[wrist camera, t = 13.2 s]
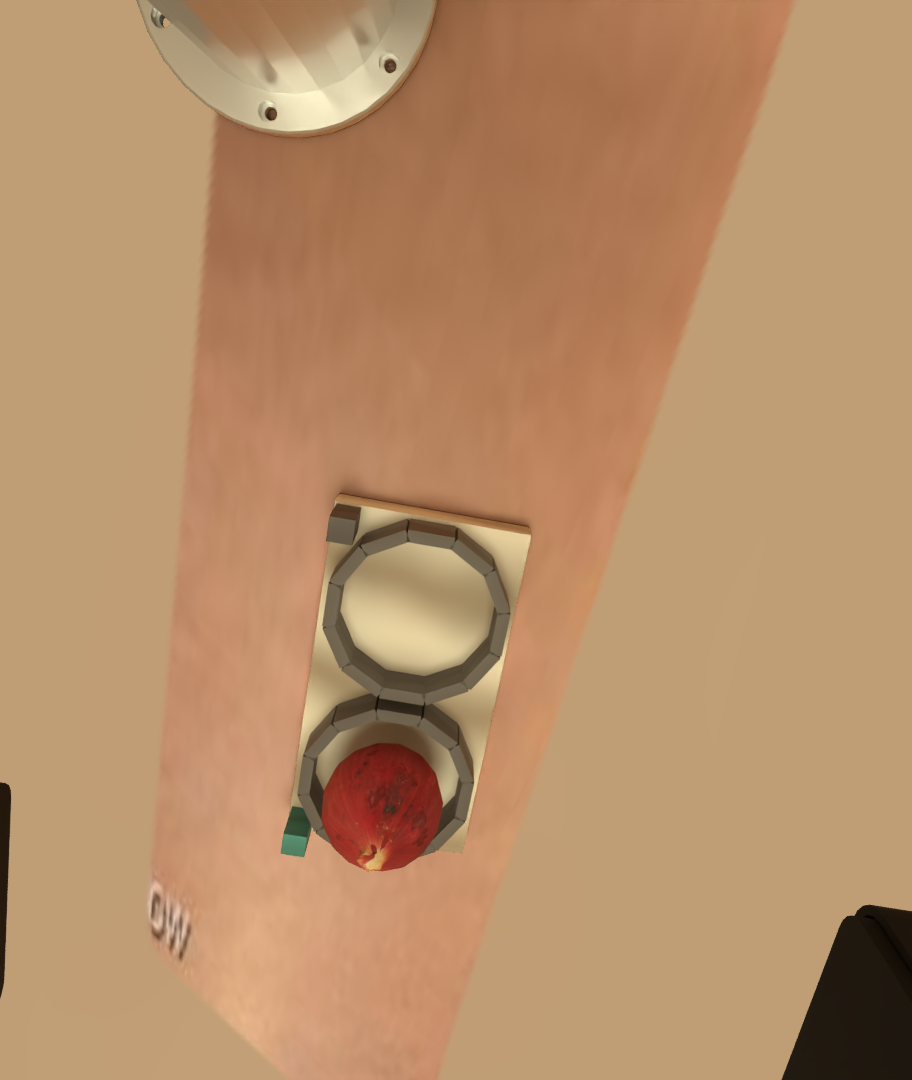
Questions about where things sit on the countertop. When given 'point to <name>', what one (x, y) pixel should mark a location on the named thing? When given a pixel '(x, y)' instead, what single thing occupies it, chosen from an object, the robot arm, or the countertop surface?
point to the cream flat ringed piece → (407, 651)
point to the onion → (382, 807)
